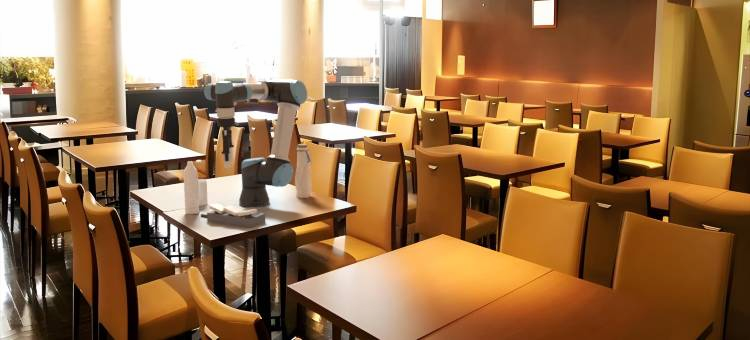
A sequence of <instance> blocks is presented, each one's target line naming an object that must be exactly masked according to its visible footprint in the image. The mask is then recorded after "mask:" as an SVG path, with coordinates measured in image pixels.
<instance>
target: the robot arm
mask: <svg viewBox="0 0 750 340" xmlns="http://www.w3.org/2000/svg"><path fill="white" fill-rule="evenodd" d="M203 94H204V96H205V99H207V100H209V101H215V103H216V109H215V113H216V117H217V118H216V122H217V127H219V128H222V131H221V135H222V139H221V140H222V151H221V155H223V169H231V168H232V165H231V164H232V163H233V162H234V155H233V153H234V152H233V148H234V144H233V139H232V138H233V137H232V136H233V135H232V133H233V131H232V128H233V127H235V126H236V118H235V116H236V113H235V103H239V102H246V101H249V100H258V101H264V102H265V101H267V102H272V103H276V105H277V106H278V113H277V119H276V123H275V129H274V135H273V141H272V145H271V150H270V153H269V154H270V155H268V156H266V159H265V157H254V158H246V159H244V160H242V161H241V168H240V169H241V184H242V185H241V188H242V189H241V193H240V196H239V200H238V202H239V205H240V206H242V207H250V208H251V207H256V208H257V207H263V206H267V205H270V197H269V194H268V191H267V187H266V186H272V187H276V188H278V187H280V188H282V187H286V186H287V185H289V183H290V182H291V181H292V179H293V176H294V170H293V168H294V167H293V166H292V165H291V160H290V158H289V154H290V153H289V152H290V149H291V148H290V147H291V142H292V137H293V131H294V125H295V121H296V120H295V119H296V115H297V111H299V110H300V109H301V105H303V104H305V102H306V101H307V98H308V90H307V87H306V84H304V82H303V81H301V80H298V79H280V78H279V79H275V78H274V79H269V80H259V81H256V82H253V83H252V82H251V83H250V82H249V83H244V82H243V83H233V82H232V81H229V80H228V81H227V80H224V81H216V83H208V84H206V85H205V86H204V89H203Z"/></svg>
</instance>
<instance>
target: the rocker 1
mask: <svg viewBox="0 0 750 340" xmlns="http://www.w3.org/2000/svg"><path fill="white" fill-rule="evenodd" d="M208 207H209V208H208V209H210V210H212V211H216V212H218V213H220V214H222V213H225V212H226V211H224V210H223V208H224V207H225V206H224V205H222V204H220V203H217V202H216V203H212V204H210V205H209V206H208Z"/></svg>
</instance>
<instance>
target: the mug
mask: <svg viewBox="0 0 750 340" xmlns="http://www.w3.org/2000/svg"><path fill="white" fill-rule="evenodd" d="M198 192H199V195H198V196H199V207H203V206H207V205H208V204H209V202H208V182H207V179H203V178H201V179H199V178H198Z"/></svg>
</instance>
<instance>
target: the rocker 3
mask: <svg viewBox="0 0 750 340" xmlns="http://www.w3.org/2000/svg"><path fill="white" fill-rule="evenodd" d="M255 212H257V213H258V208H251V209H247V210H246V209H245V210H243V211H242V212H240V213H237V215H238V216H243V215H249V214H252V213H255Z"/></svg>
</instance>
